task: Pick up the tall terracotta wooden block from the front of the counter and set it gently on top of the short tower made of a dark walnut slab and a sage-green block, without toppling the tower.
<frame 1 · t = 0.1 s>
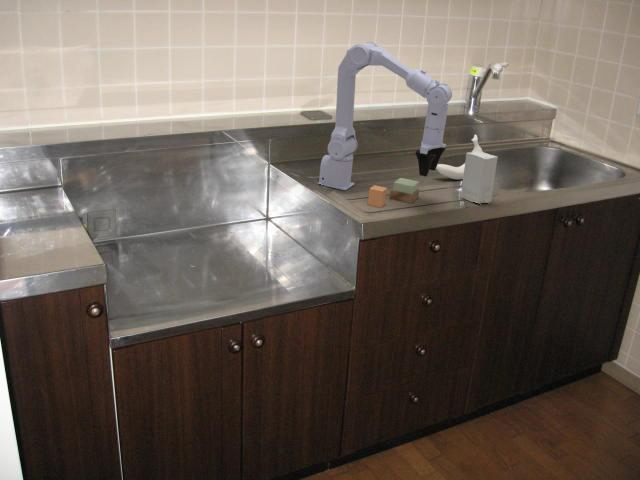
hand: (427, 172, 207), 10 cm above the counter, tool pointing down, fingers open, 7 cm apart
skincare box: (474, 200, 219), on the counter
sage block: (405, 189, 214), point 3 cm above the counter, touching walnut slab
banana: (457, 179, 239), on the counter
walnut slab: (403, 199, 215), on the counter, touching sage block
terracotta block: (376, 204, 207), on the counter
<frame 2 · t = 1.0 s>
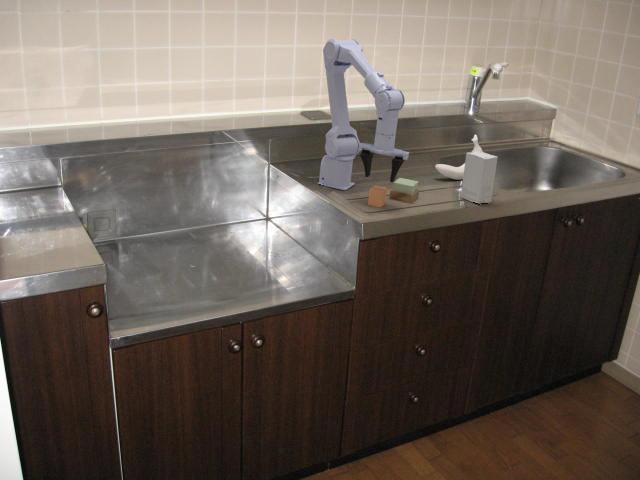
hand: (379, 178, 204), 8 cm above the counter, tool pointing down, fingers open, 7 cm apart
nothing on the counter moved.
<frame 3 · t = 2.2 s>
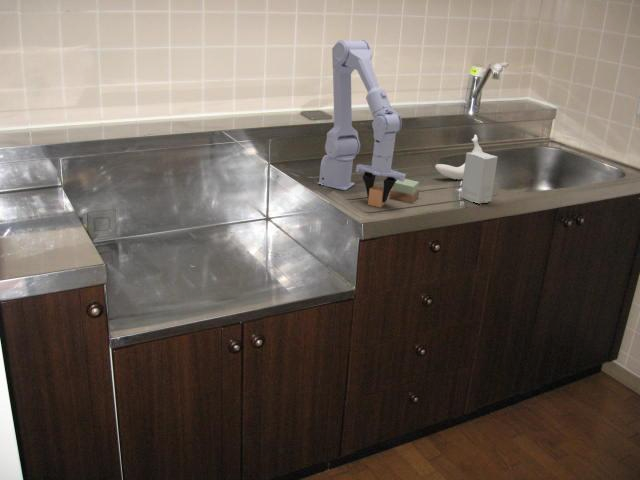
hand: (377, 199, 207), 1 cm above the counter, tool pointing down, fingers closed on terracotta block, 4 cm apart
terracotta block: (376, 204, 207), on the counter, touching gripper
everything else where it was.
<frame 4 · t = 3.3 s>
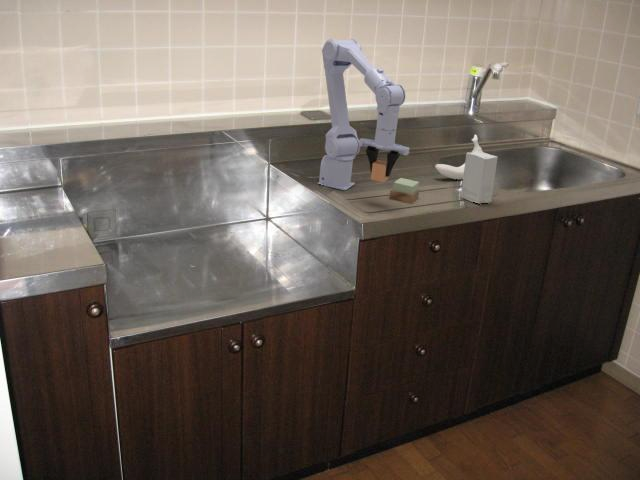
hand: (380, 174, 204), 9 cm above the counter, tool pointing down, fingers closed on terracotta block, 4 cm apart
terracotta block: (379, 179, 204), point 8 cm above the counter, touching gripper
everything else where it was.
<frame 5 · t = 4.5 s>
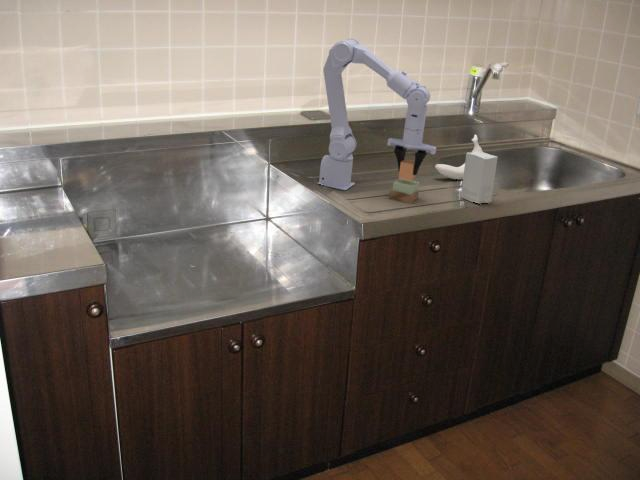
hand: (407, 172, 212), 8 cm above the counter, tool pointing down, fingers closed on terracotta block, 4 cm apart
terracotta block: (406, 177, 212), point 7 cm above the counter, touching gripper
everything else where it was.
when the fingers open (8 cm above the counter, at t = 4.9 s): terracotta block drops 1 cm, point 5 cm above the counter.
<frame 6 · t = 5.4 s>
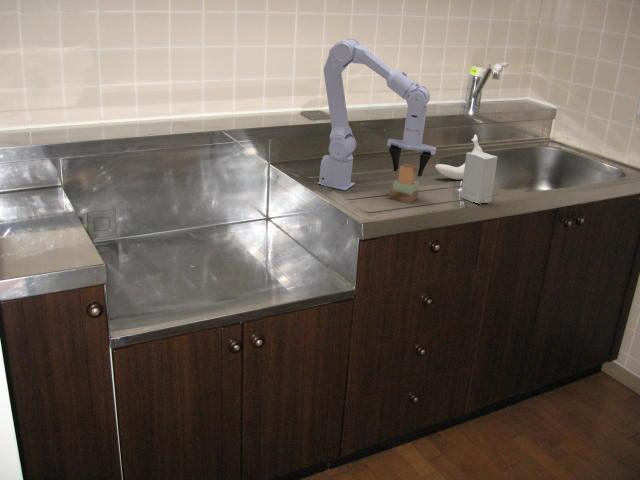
hand: (407, 173, 212), 8 cm above the counter, tool pointing down, fingers open, 7 cm apart
sage block: (405, 189, 214), point 3 cm above the counter
walnut slab: (403, 199, 215), on the counter
terracotta block: (406, 182, 213), point 5 cm above the counter
everything else where it was.
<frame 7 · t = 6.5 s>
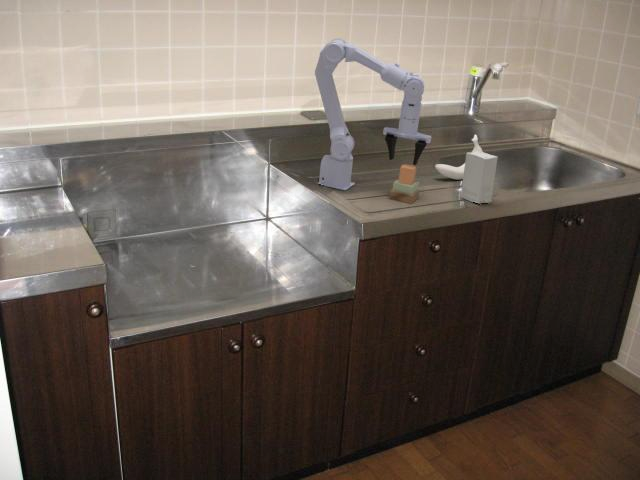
hand: (403, 161, 214), 10 cm above the counter, tool pointing down, fingers open, 7 cm apart
sage block: (405, 190, 214), point 3 cm above the counter, touching walnut slab
walnut slab: (403, 199, 215), on the counter, touching sage block
everything else where it was.
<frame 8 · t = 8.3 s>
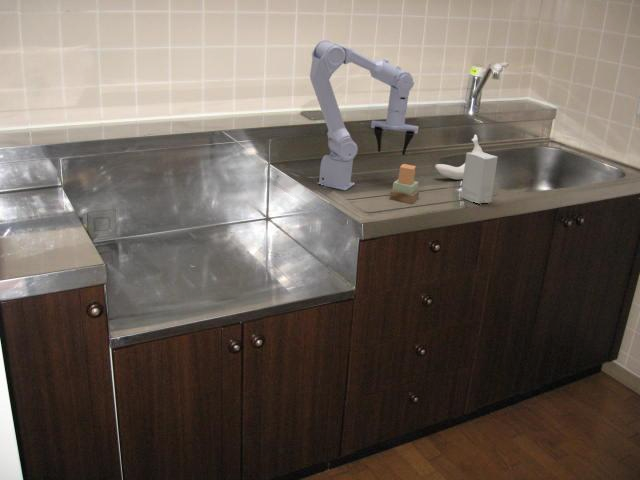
hand: (391, 152, 223), 10 cm above the counter, tool pointing down, fingers open, 7 cm apart
sage block: (404, 190, 214), point 3 cm above the counter, touching terracotta block, walnut slab
terracotta block: (405, 182, 213), point 5 cm above the counter, touching sage block
everything else where it was.
at the end: terracotta block 0.3 cm from the target spot, point 5.0 cm above the counter; sage block tilted 0°; walnut slab moved 0.7 cm from its start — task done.
